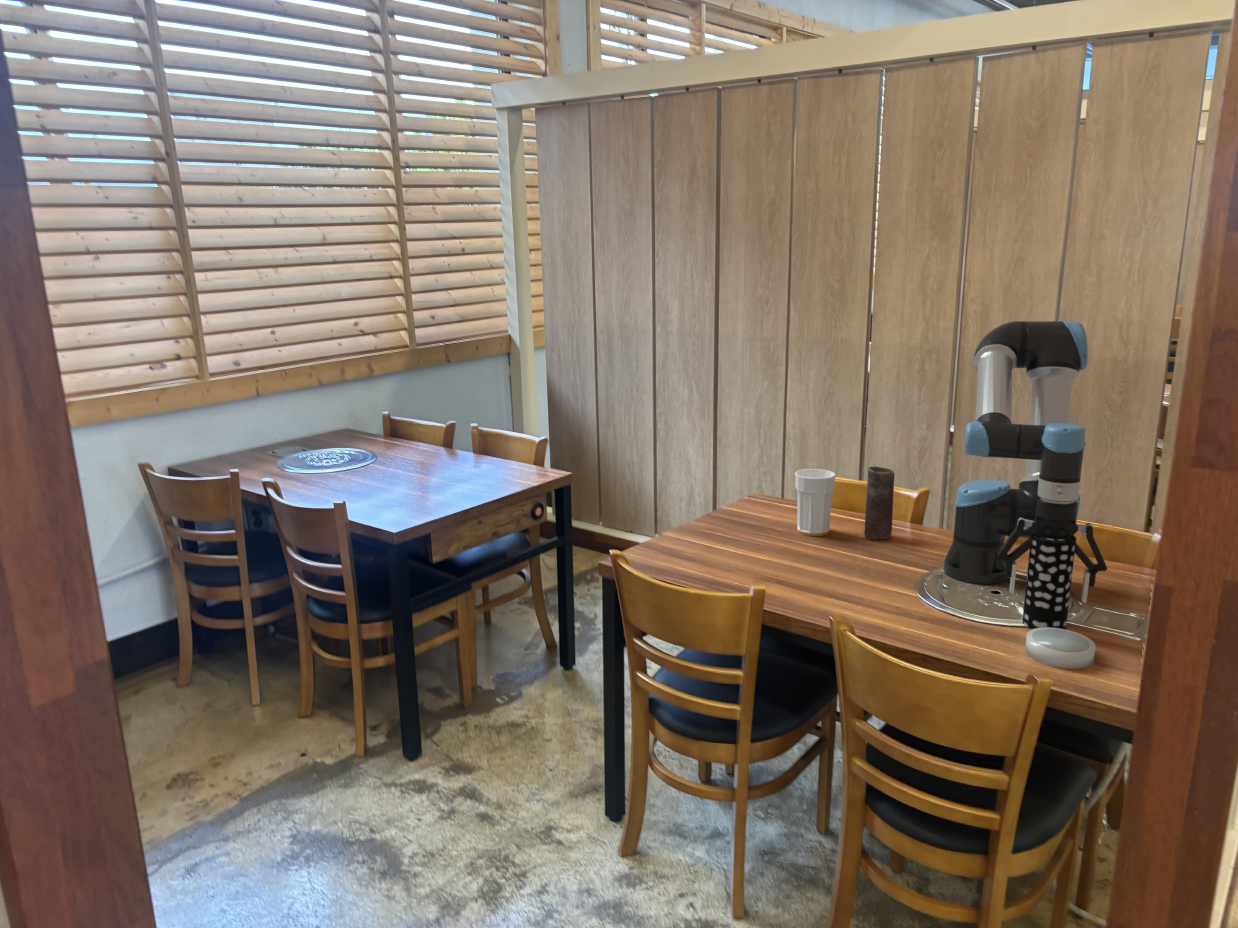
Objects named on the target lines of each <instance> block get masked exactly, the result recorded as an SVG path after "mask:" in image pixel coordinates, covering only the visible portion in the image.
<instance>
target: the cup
mask: <svg viewBox="0 0 1238 928" xmlns="http://www.w3.org/2000/svg"><path fill="white" fill-rule="evenodd" d="M794 474H795V475H794V476H795V477H794V479H795V480H794V481H795V482H794V485H795V487H794V488H795V490H796V492H797V494H796V495H797V496H796V497H797V499H796V502H797V504H796V505H797V507H796V510H797V511H796V512H797V513H796V515H797V516H796V517H797V519H796V520H797V521H796V523H797V524H796V525H797V527H796V528H797V532H798V533H799V534H801V535H803V536H807V537H823V536H826V535H828V534H829V533H830V526H831V525H830V524H831V513H832V512H831V511H832V510H831V509H832V499H833V497H832V496H833V492H834V491H835V487H836V486H835V485H836V483H835V482H836V473H835V472H834V471H831V470H827V469H822V468H821V469H820V468H804V469H799V470H797V471H795V472H794Z"/></svg>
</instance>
